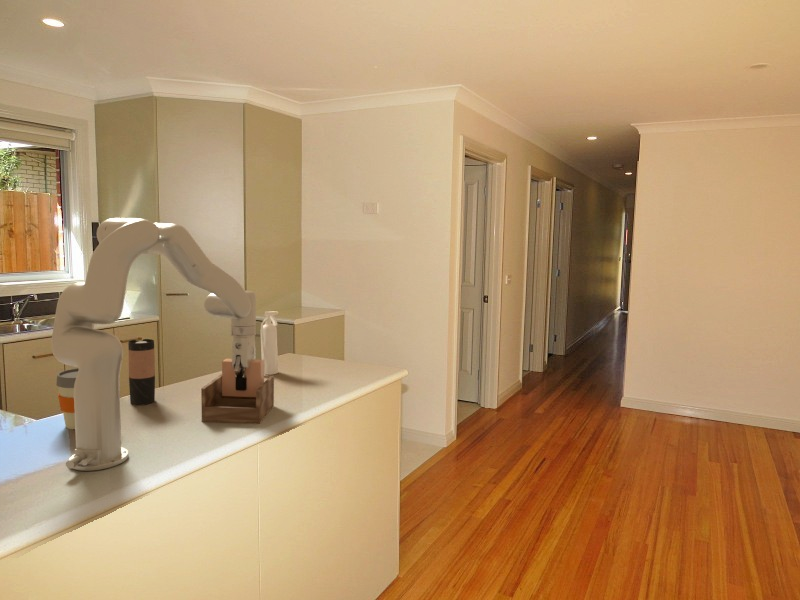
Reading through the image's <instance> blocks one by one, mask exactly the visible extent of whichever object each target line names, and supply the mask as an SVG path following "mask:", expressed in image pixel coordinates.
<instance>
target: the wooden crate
mask: <svg viewBox="0 0 800 600" xmlns="http://www.w3.org/2000/svg"><path fill="white" fill-rule="evenodd" d="M200 393H201V397H200V398H201V422H202V423H204V422H205V423H222V424H223V423H225V424H226V423H229V424H253V425H260V424H261V423H262V422H263V420H264V419H265V418H266V416H267V415H268V414H269V413H270V411H272V409H273V408H274V406H275V394H274V393H275V376H274V375H270V376H269V377H268V378H267V379H266V380H264V383H263V384H262V385H261V386H260V387H259V388H258V389H257V390H256V397H238V396H222V373H221V374H219V375H218V376H217V377H215V378H214V379H213V380H211V381H210V382H209V383H207V384H206V385H204V386H203V387H202V388H201V392H200Z"/></svg>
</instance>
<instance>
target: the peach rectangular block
mask: <svg viewBox="0 0 800 600" xmlns="http://www.w3.org/2000/svg"><path fill="white" fill-rule="evenodd" d="M235 365H236V362H235ZM240 368H244V367H243V366H240ZM234 370H235V368H233V366H232V358H225V359H223V360H222V361H221V374H222V396H238V397H256V390H257V389H258V388H259V387H260V386H261V385H262V384H263V383H264V382H265V374H264V360H262V359H257V358H256V359H254V360H253V361H252V362H250V367H249V368H248V369H246V373H245V378H246V390H245V391H243V390H236V377H235V375H236V374H235V371H234ZM240 371H242V372H243V370H240Z"/></svg>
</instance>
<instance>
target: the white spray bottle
mask: <svg viewBox="0 0 800 600" xmlns="http://www.w3.org/2000/svg"><path fill="white" fill-rule="evenodd" d="M276 315H279V311H276V310H275V311H272V310H271V311H264V314H263V317H265V318H264V319H263V320H262V322H261V324H260V347H261V348H260V351H261V352H260V353H261V354H260V355H261V360H264V376H266V375H270V376H272V375H276V374H278V373H279V359H278V358H279V356H278V355H279V353H278V330H277V329H278V328H277V326H278V325H279V324H278V321H277V318H276Z"/></svg>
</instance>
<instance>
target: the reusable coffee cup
mask: <svg viewBox="0 0 800 600" xmlns="http://www.w3.org/2000/svg"><path fill="white" fill-rule="evenodd" d="M78 371H79V368H77V367H75V368H71V369H65V370H62V371H59V372H58V373H57V374H56V383H55V384H56V386H57V387H58V388H57V389H58V394H57V397H58V398H57V399H58V402H59V407H60V411H62V414H63V420H64V424H65V428H66V429H68V430H73V429H75V409H74V384H75V380H76V377H77V375H78Z"/></svg>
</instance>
